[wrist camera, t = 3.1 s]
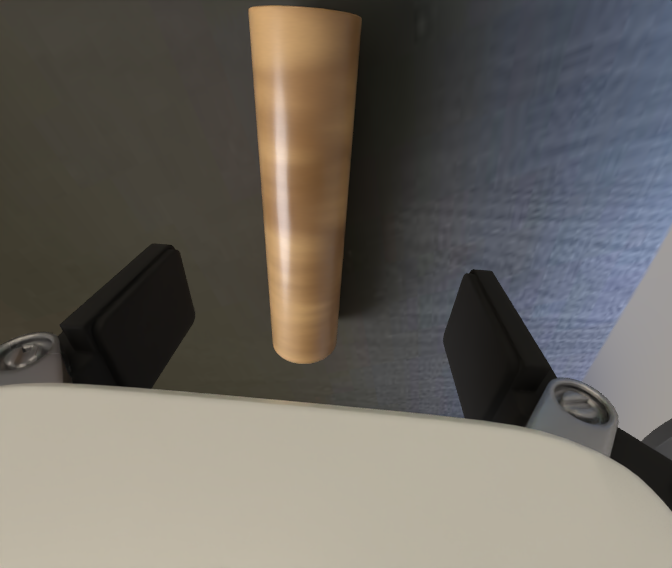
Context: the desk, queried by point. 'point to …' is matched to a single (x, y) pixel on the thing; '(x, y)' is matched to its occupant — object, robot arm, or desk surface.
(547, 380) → the robot arm
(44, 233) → the desk surface
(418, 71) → the desk surface
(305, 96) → the wooden cylinder
